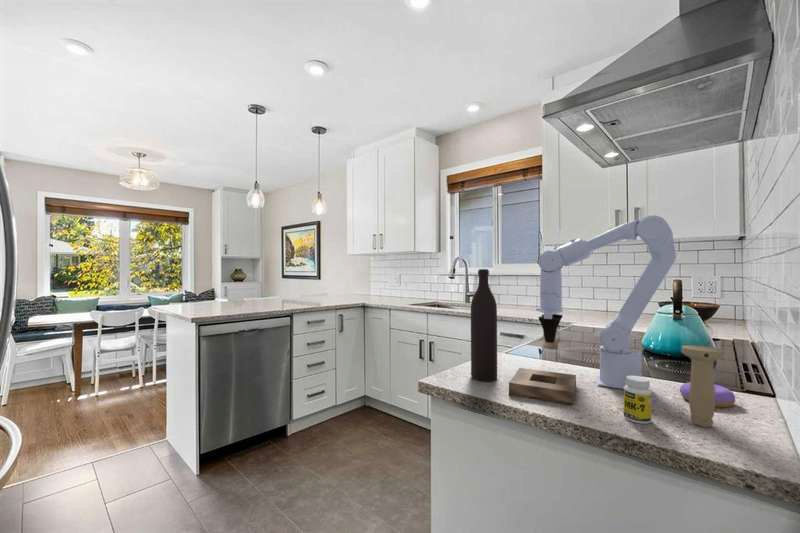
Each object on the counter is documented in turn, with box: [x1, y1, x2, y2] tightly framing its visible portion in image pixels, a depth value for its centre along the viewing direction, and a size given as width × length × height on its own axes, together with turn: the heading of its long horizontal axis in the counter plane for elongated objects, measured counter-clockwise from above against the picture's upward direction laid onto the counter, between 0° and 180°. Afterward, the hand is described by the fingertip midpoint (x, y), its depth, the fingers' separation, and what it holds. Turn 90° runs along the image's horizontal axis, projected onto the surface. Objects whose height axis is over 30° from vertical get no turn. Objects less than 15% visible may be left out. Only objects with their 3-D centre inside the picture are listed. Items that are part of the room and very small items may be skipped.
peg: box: [542, 326, 559, 350], centre depth 107 cm, size 4×4×6 cm
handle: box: [681, 345, 725, 428], centre depth 74 cm, size 5×6×15 cm
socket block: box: [508, 367, 577, 406], centre depth 93 cm, size 14×14×3 cm
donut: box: [679, 381, 736, 408], centre depth 86 cm, size 10×9×5 cm
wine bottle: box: [470, 268, 498, 382], centre depth 103 cm, size 7×7×30 cm
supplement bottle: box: [622, 376, 653, 425], centre depth 76 cm, size 5×5×8 cm
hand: (550, 340), depth 107 cm, fingers closed on peg, 4 cm apart
